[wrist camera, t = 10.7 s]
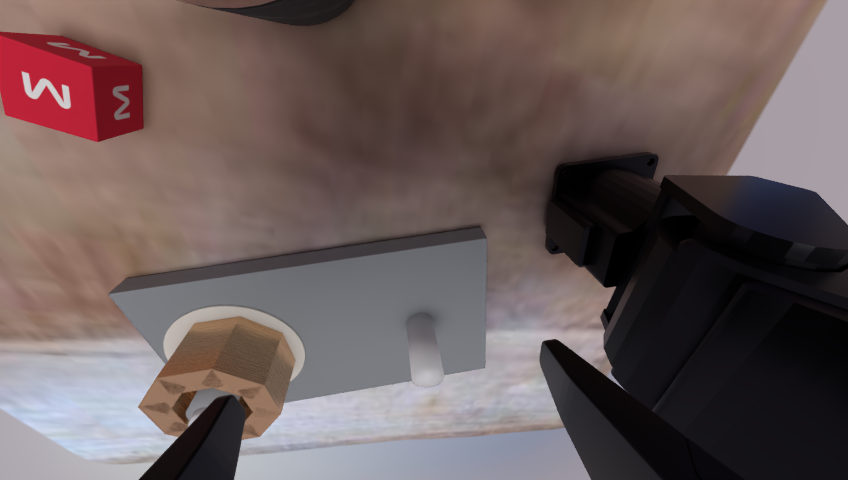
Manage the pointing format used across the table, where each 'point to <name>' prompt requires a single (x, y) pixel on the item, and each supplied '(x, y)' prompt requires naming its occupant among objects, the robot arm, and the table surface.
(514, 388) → the table surface
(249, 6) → the travel mug
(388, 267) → the board
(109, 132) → the red letter cube
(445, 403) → the table surface
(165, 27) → the table surface
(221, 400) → the robot arm
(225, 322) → the wooden ring
